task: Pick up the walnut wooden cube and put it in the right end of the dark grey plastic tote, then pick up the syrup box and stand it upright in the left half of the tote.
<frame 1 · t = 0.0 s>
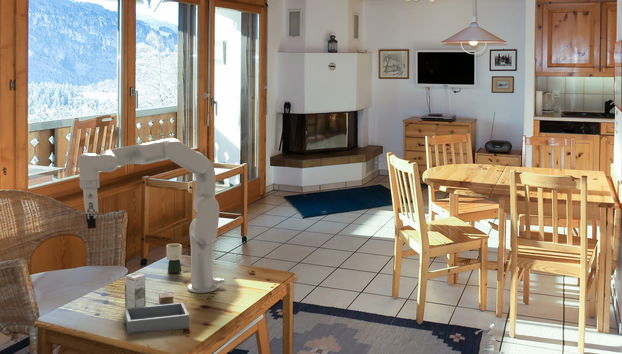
hand: (91, 225, 288), 31 cm above the table, tool pointing down, fingers open, 9 cm apart
tote: (156, 324, 267), on the table
syrup box: (135, 310, 282), on the table
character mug: (174, 272, 331), on the table
walnut cube: (166, 307, 285), on the table
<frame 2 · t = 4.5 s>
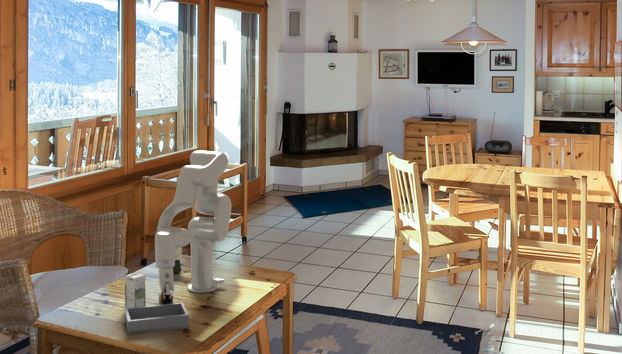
hand: (166, 305, 285), 0 cm above the table, tool pointing down, fingers closed on walnut cube, 4 cm apart
walnut cube: (166, 306, 285), on the table, touching gripper
everything else where it was.
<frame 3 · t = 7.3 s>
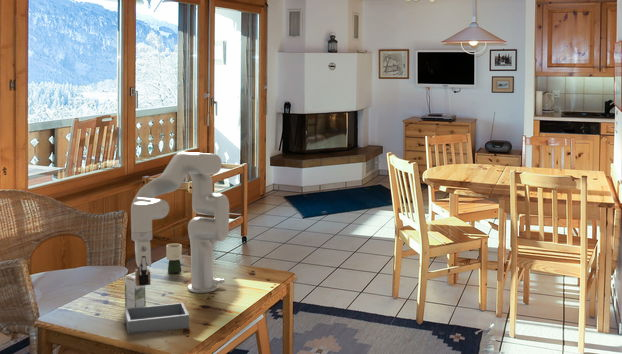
hand: (142, 282, 265), 16 cm above the table, tool pointing down, fingers closed on walnut cube, 4 cm apart
walnut cube: (142, 283, 265), point 16 cm above the table, touching gripper
everything else where it was.
when the fingers open (3 cm above the table, at t = 10.3 s): walnut cube drops 2 cm, resting on tote.
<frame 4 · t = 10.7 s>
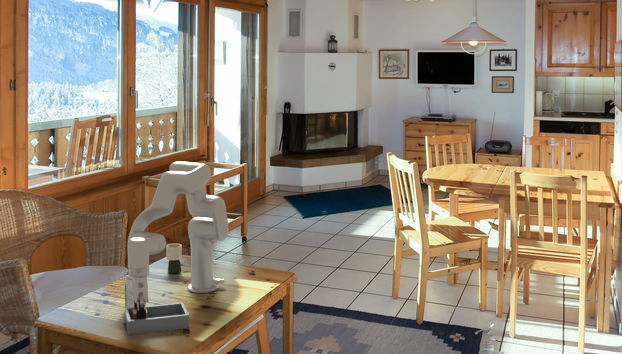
hand: (140, 315, 264), 4 cm above the table, tool pointing down, fingers open, 9 cm apart
walnut cube: (140, 323, 265), point 1 cm above the table, touching tote
everything else where it was.
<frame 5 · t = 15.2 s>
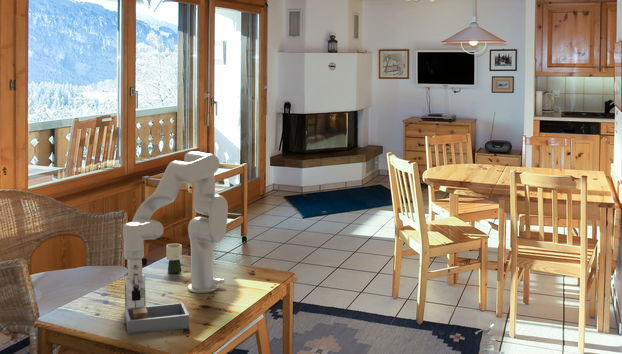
hand: (135, 296, 281), 5 cm above the table, tool pointing down, fingers closed on syrup box, 7 cm apart
syrup box: (135, 310, 281), on the table, touching gripper
everything else where it was.
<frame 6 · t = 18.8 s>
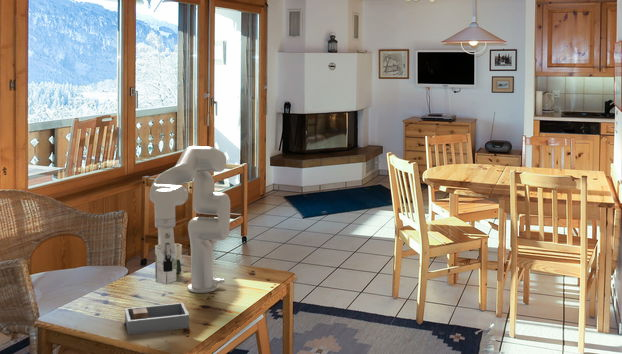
hand: (166, 267, 264), 22 cm above the table, tool pointing down, fingers closed on syrup box, 7 cm apart
syrup box: (166, 282, 265), point 16 cm above the table, touching gripper
everything else where it was.
when the fingers open (7 cm above the table, at t = 22.7 s): syrup box stays where it is, resting on tote.
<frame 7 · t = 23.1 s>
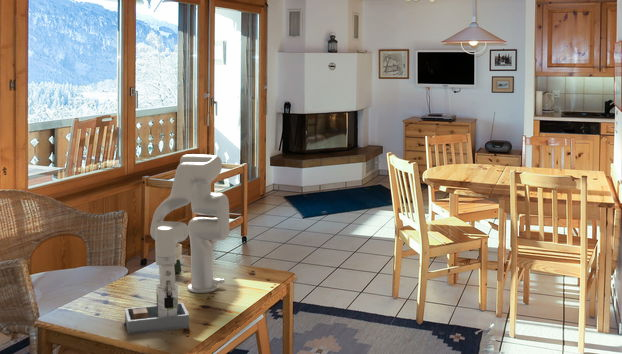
hand: (167, 303, 267), 8 cm above the table, tool pointing down, fingers open, 9 cm apart
syrup box: (167, 321, 268), point 1 cm above the table, touching tote
everything else where it was.
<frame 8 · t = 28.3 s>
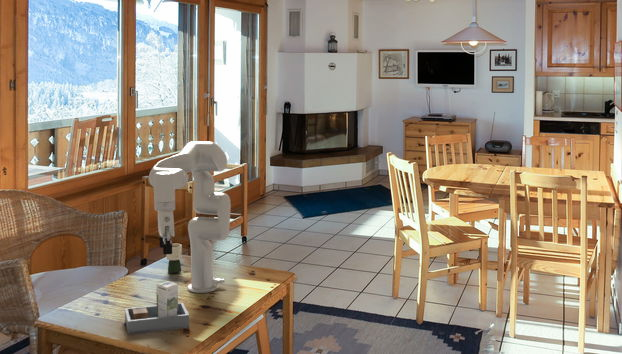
hand: (165, 250, 263), 28 cm above the table, tool pointing down, fingers open, 9 cm apart
nothing on the table moved.
at the end: walnut cube inside the target area on the tote (6.0 cm from its centre), point 1.0 cm above the tote's base; syrup box inside the target area on the tote (4.1 cm from its centre), point 0.8 cm above the tote's base; syrup box tilted 0° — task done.
